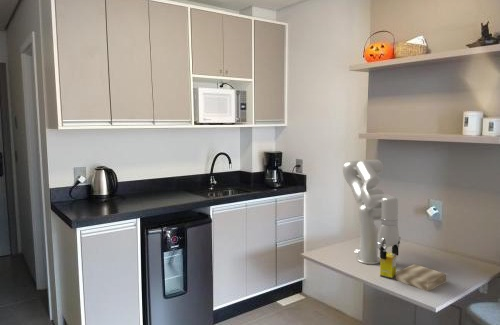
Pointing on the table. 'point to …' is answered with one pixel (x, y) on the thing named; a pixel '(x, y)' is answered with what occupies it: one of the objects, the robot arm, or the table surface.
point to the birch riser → (421, 277)
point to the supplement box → (388, 266)
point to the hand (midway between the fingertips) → (389, 256)
